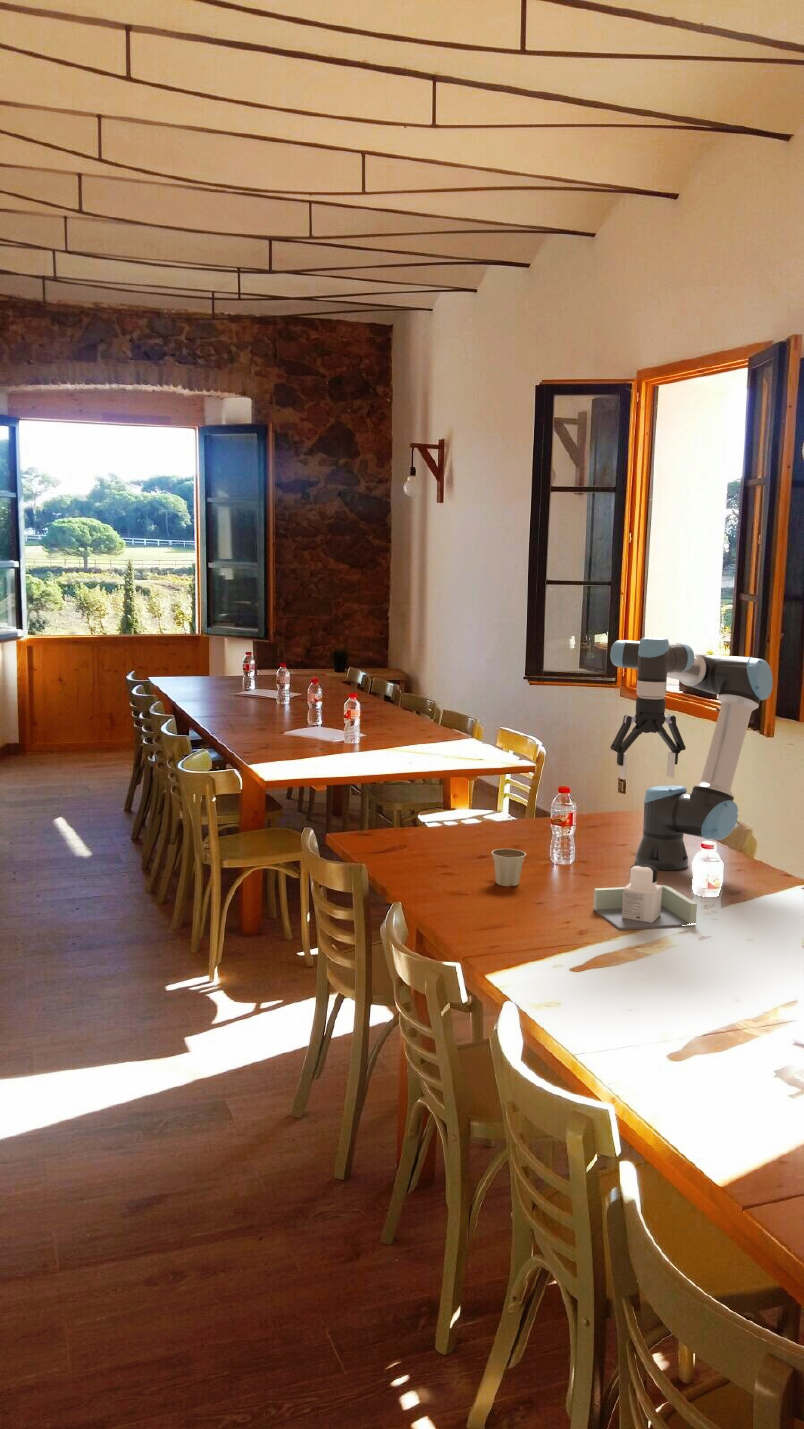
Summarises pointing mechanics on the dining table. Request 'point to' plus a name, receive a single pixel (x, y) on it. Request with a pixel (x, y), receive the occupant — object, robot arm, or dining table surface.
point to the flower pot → (508, 866)
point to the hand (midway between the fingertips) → (646, 777)
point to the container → (642, 894)
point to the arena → (672, 914)
